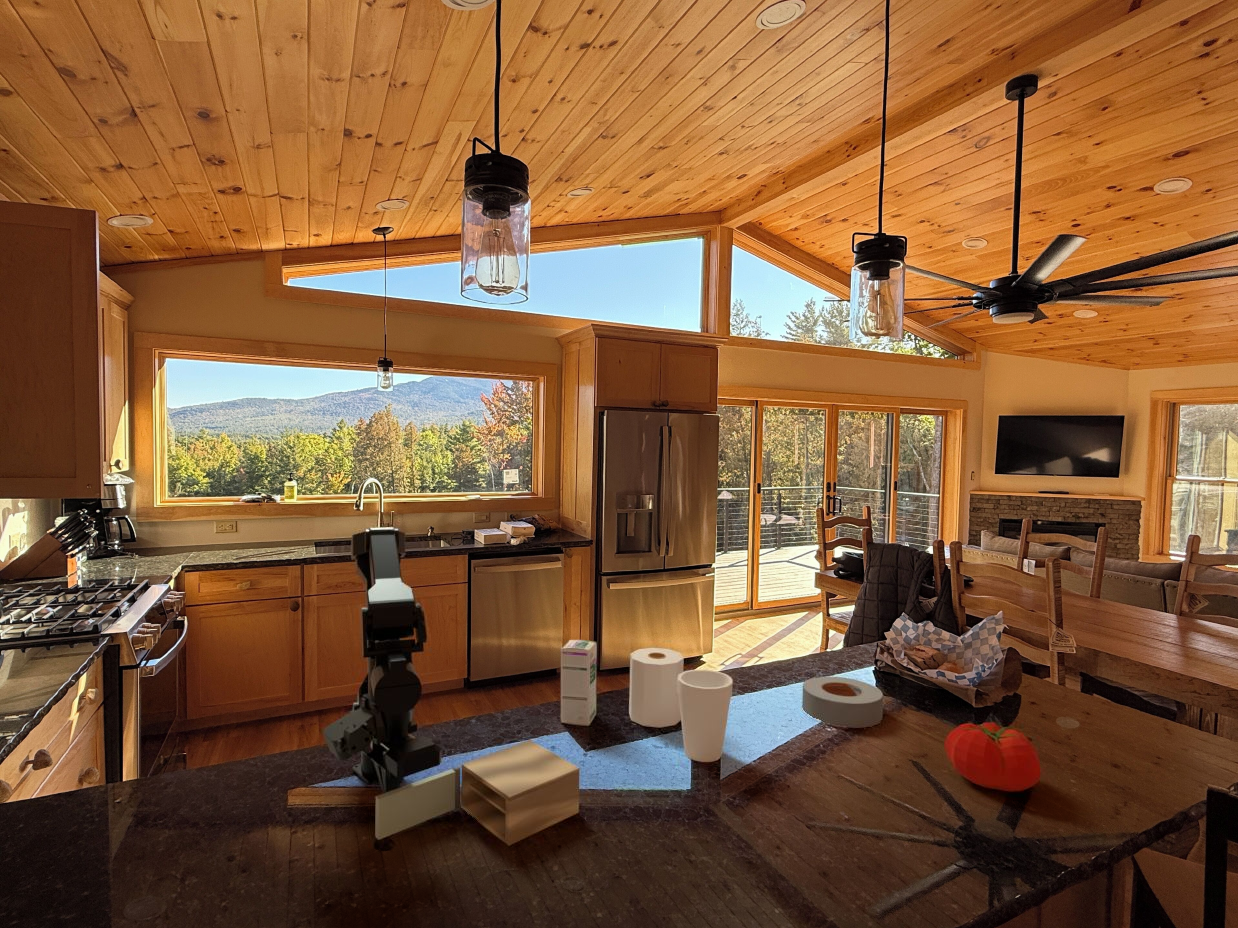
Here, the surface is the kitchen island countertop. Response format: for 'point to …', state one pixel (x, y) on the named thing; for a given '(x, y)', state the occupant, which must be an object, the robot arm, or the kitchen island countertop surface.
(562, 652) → the syrup box
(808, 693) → the tape roll
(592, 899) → the kitchen island countertop surface
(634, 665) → the toilet paper
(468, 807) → the cabinet
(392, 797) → the door
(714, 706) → the foam cup
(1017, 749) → the tomato
